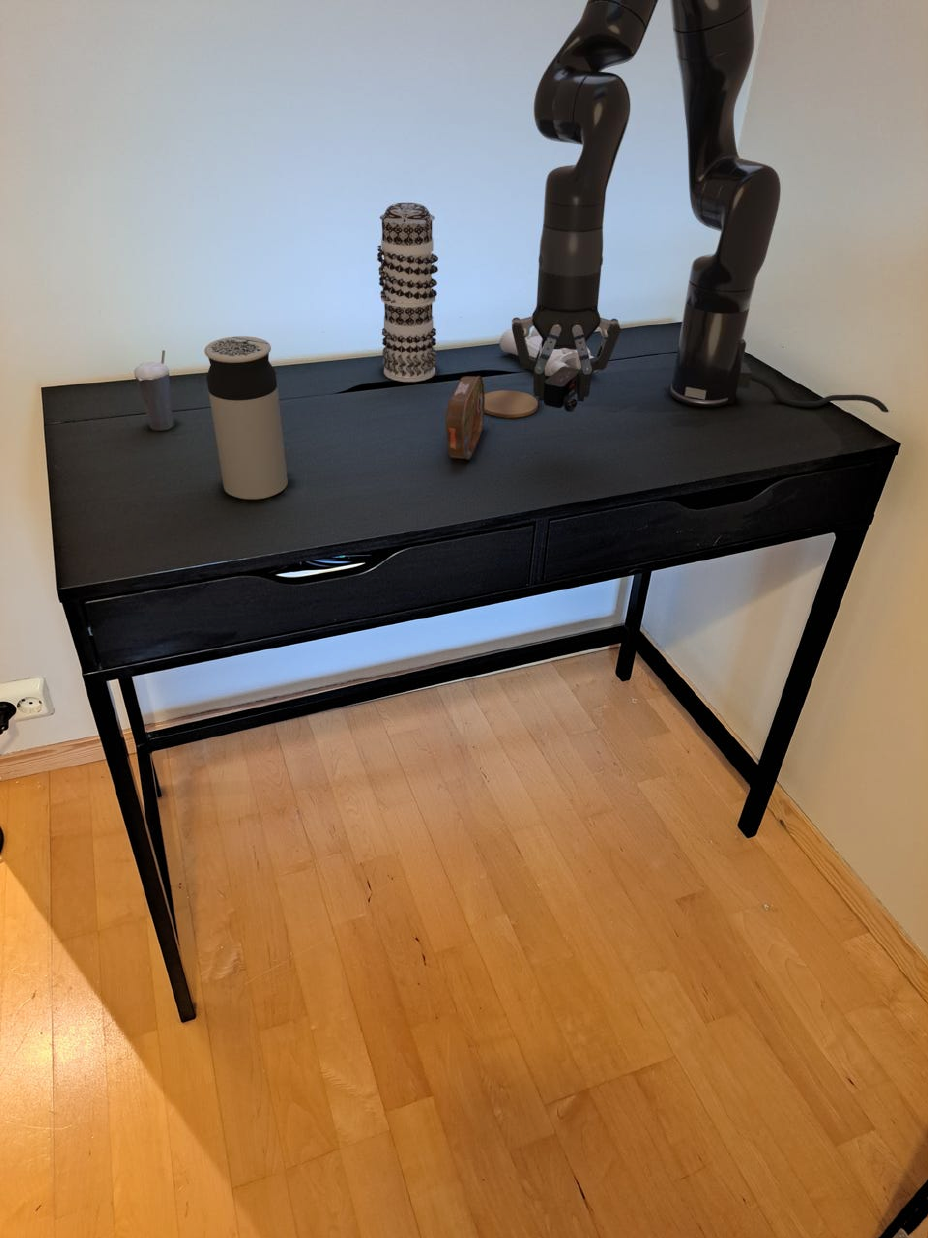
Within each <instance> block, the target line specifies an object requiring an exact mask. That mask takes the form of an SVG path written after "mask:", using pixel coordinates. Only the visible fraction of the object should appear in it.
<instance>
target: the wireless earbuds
mask: <svg viewBox="0 0 928 1238" xmlns="http://www.w3.org/2000/svg"><path fill="white" fill-rule="evenodd" d="M578 378H579V369H575V368H570V367H561V368H560V369H559V370H557V371H556V372H555V373H554V374H553V375H552V376H548V378H547V379H545V391H544V401H543V404H544V405H545V406H547V407H549V408H557V409H562V408H564V410H565V411H566V412H568V413H573V412H574V411H575V409H576V407H577V406H578V399H577V398H574V397H575V396H577V390H578Z"/></svg>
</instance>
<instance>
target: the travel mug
mask: <svg viewBox="0 0 928 1238" xmlns="http://www.w3.org/2000/svg"><path fill="white" fill-rule="evenodd" d="M203 350H204V351H203V352H204V355H205V356H206V357H207V358H208V361H209V368H208V371H207V374H206V376H205V378H206V384H207V385H206V386H207V390H208V397H209V403H210V409H211V416H212V422H213V429H214V435H215V440H216V447H217V448H216V449H217V453H218V459H219V465H220V467H219V468H220V472H221V478H222V485H223V490H224V491H225V493H226V494H228V495H229V496H232V497H234V498H237V499H241V500H262V499H263V500H264V499H267V498H270V497H273V496H275V495H277V494H279V493H281V492H282V491H284V490H285V489H286V488H287V487H288V482H289V478H288V471H287V462H286V452H285V443H284V442H285V441H284V434H283V426H282V417H281V416H282V415H281V409H280V408H281V407H280V399H279V390H278V380H277V372H276V370H275V368H274V367H273V365H272V364H271V362H270V361H269V358H270V357H269V356H270V353H271V351H272V346H271V344H270V343H269V341H267V340H265V339H262V338H260V337H255V336H246V335H245V336H244V335H239V336H228V337H222V338H219V339H216V340H213V341H211V342H209V343H208V344H207V345H206V346H205V347H204V349H203Z"/></svg>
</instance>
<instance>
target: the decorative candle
mask: <svg viewBox="0 0 928 1238" xmlns="http://www.w3.org/2000/svg"><path fill="white" fill-rule="evenodd" d="M435 218H436V217H435V215H433V214H431V213H430V211H429V209H428V208H427V206H425V205H423V204H421V203H416V202H397V203H393V204H390V205H389V206H388V207H386V209H385V211H384V213H383V214H381V215H379V219H380V220H381V239H380V245H377V246H376V250H377V251H378V252H377V254H376V260H377V262H379V263H380V266H379V267H378V268H377V269H378V275H379V278H378V280H379V281H378V285H379V286H380V287H381V288H382V289H381V290H380V292H379V293H380V300H381V302H383V304H384V305H383V306H384V307H383V309H384V315H383V327H382V329H381V335H382V336H383V337H382V344H381V345H382V346H384V347H383V348H382V357H383V359H382V366H383V375H384V376H385V377H386V378H388V379H390V380H392V381H396V382H401V383H402V382H403V383H417V382H423V381H426V380H427V381H428V380H429V379H431V378H433V377H434V376H435V375H436V368H435V366H436V365H437V363H436V362H437V360H436V358H435V357H436V356H437V350H436V348H435V347H434V346H436V344H437V343H436V342H437V341H436V338H435V336H436V335H437V329H436V328H435V327H434V325H435V323H434V320H435V319H434V316H433V303H434V302H436V296H437V294H438V293H437V291H436V289H434V288H435V287H436V286H437V285H438V282H437V280H436V279H435V278H434V277H433V275H434V274H435V273H438V271H439V268H438V266H437V265H435V263H437V262H438V261H439V257H438V255H436V254H435V253H433V251H434V248H435V247H434V237H433V222H434V221H435Z"/></svg>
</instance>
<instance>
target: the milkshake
mask: <svg viewBox="0 0 928 1238" xmlns="http://www.w3.org/2000/svg"><path fill="white" fill-rule="evenodd" d="M165 355H166V350H162V351H161V360H160V361H161V362H155V361H150V362H141V363H140V364H138V366H136V367H135V369H134V370H133V374H134V378H135V381H136V384H137V387H138V390H139V394H140V397H141V400H142V405H143V407H144V411H145V414H146V418H147V422H148V425H149V429H151V430H153V431H157V432H162V431H168V430H170V429H172V428H174V422H175V421H174V413H173V405H172V404H173V403H172V395H171V382H170V381H171V380H170V369H169V367H168V366H167V365H166V364H165V357H166V356H165Z"/></svg>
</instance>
